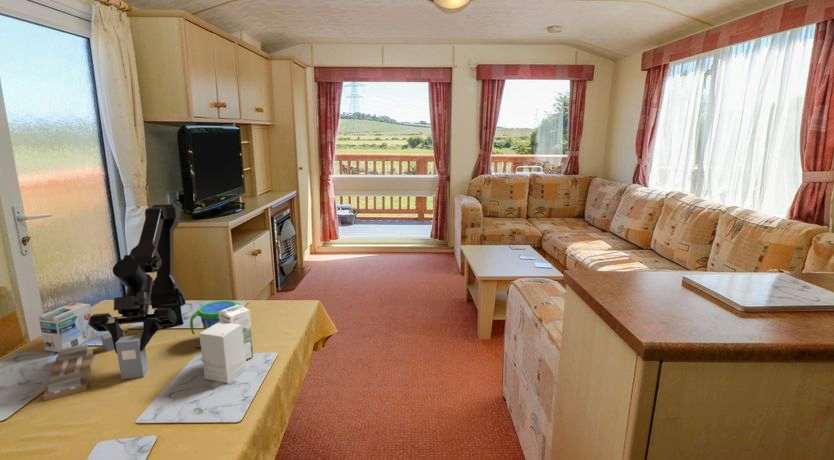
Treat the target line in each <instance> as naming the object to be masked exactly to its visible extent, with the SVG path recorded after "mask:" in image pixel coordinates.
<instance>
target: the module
mask: <svg viewBox="0 0 834 460" xmlns="http://www.w3.org/2000/svg"><path fill="white" fill-rule="evenodd" d="M141 337H142V334H135V335H125V336H124V337H120V339H119V340H118V341H117V342H116V343H115V344H116V349H117V353H116V355H117V360H118V364H119V365H118V367H119V371H120V379H121V380H127V379H128V380H129V379H130V380H131V379H137V378H144V377H146V375H147V373H148V371H149V366H148V358H147V352H146V351H147V350H146V347H145V348H144V350H143V351H140V342H141Z"/></svg>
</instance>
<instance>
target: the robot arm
mask: <svg viewBox="0 0 834 460" xmlns="http://www.w3.org/2000/svg"><path fill="white" fill-rule="evenodd" d="M181 213H182V212H181V208H180V207H179V206H177V205H176V203H161V204H160V203H158V204H153V205H152V206H151V207H146V209H145V211H144V217H145V218H144V222H143V225H142V230H141V233H140V237H139V241H138V244H137V245H136V246H134V247H133V248H132V249H131V250H130V252H129V254H125V255H124V256H123V259H120V260H118V261H117V262H116V263H115V264H114V266H113V267H112V274H113V275H114V276H115V277H116V278H117V279H118V281H119V282H120V283H121V284H122V285H123V286H124V287H126V292H125V294H123V296H117V297H116V296H115V297H113V311H114V312H115V311H117V313H118V314H119V315H121V316H112V315H111V314H110V313H109V312H107V313H92V316H91V317H90V318H89V322H88V325H90V326H91V327H92V328H93V329H94V330H95V332H99V333H101V332H107V333H109V332H110V334H111V336H112V340H113V344H114V348H115V350H114V352H115V353H116V354H117V349H116V344H115V343H116V342H117V341H118V340H119V339H120V337H123V333H125V330H123V328H121V325H126V324H127V325H128V324H136V323H137V324H138V323H142V324H143V325H142V326H143V330H142V333H141V335H142V337H141V342H140V351H143V350H144V348H145V349H146V347H147V345H148V343H149V342H150V340H151V339H152V338H153V336H154V335H155V334H156V333H157V332H158V331H159V330H160V329H161V330H162V329H166V328H171V327H176V326H180V325H183V324H184V320H183V316H182V315H183V314H182V306H185V305H186V296H185V293H184V291H182V288H180V283H179V281H178V280H177V279H176V277H175V274H174V272H175V271H174V231H175V230H176V229H177V227H178V225H179V223H180V218H181ZM151 273H154V274H155V273H156V277H155V278H153V277H152V276H151V275H150V274H151ZM150 307H151V309H152V310H153V313H149V310H150V309H149V308H150Z"/></svg>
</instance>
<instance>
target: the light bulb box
mask: <svg viewBox="0 0 834 460" xmlns="http://www.w3.org/2000/svg"><path fill="white" fill-rule="evenodd" d="M92 315H93V313H92V307H91V304H90V303H81V302H80V303H79V302H70V303H68V304H66V305H63V306H60V307H58V308H54V309H53V310H50V311H48V312H45V313H43V314H40V315H38V321H39V326H40V332H41V335H42V341H43V345H44V350H45V351H47V352H55V353H59V351H60V349H63V348H68V347H73V346H78V345H82V344H85V343H87V342H88V340H89V341H90V339H91V340H92V338H93V339H95V338H96V330H95V329H93V328H92V327H91V326H90V325H88V322H89V318H90V317H91V316H92ZM94 337H95V338H94Z"/></svg>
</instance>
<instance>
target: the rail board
mask: <svg viewBox="0 0 834 460" xmlns="http://www.w3.org/2000/svg"><path fill="white" fill-rule="evenodd" d="M94 354H95V353H94V348H90V349H89V346H88V343H82V344H80V345H78V346H73V347H68V348H63V349H60V351H59V352H58V355H57V356H56V358H55V362H54V364H53V367H52V370H51V373H50V375H49V378H48V382H47V384H46V387H45V390H44V393H43V401H49V400H53V399H56V398H61V397H65V396H70V395H74V394H77V393H81V392H85V391H87V389H88V384H89V380H90V375H91V374H90V373H91V368H92V363H93V360H94V359H93V357H94Z"/></svg>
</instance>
